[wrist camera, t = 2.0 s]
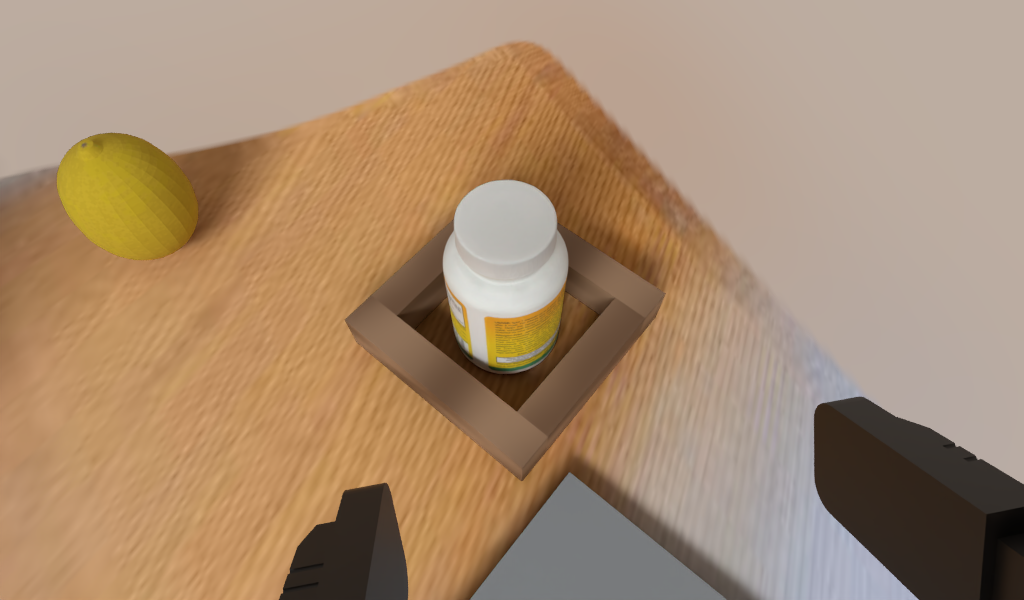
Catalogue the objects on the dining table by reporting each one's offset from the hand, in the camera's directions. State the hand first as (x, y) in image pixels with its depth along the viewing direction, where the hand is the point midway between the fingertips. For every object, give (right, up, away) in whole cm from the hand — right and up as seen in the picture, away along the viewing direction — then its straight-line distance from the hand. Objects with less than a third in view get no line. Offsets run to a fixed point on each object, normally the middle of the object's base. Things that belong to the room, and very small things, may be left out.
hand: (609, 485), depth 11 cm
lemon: (-21, +6, +23) cm, 32 cm away
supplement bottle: (-2, +2, +21) cm, 21 cm away
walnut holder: (-2, +2, +21) cm, 21 cm away
